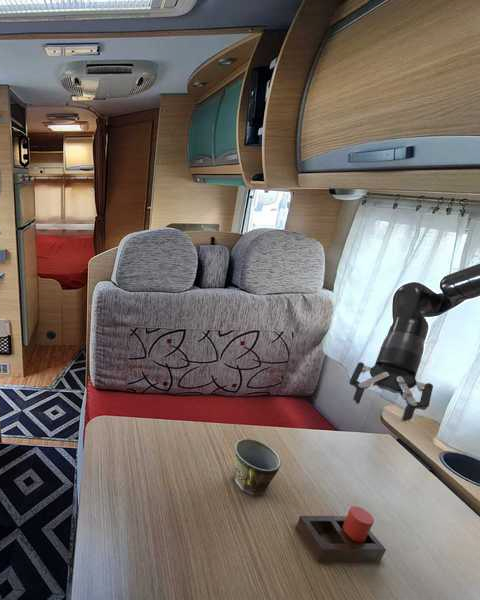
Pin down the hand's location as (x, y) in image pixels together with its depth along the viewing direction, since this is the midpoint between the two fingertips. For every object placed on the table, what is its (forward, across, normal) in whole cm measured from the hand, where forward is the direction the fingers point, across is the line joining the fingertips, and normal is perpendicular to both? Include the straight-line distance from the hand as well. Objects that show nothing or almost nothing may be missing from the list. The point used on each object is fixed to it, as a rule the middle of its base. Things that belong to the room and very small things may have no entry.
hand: (379, 411), depth 78 cm
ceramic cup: (+32, -18, -2) cm, 36 cm away
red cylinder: (+31, +2, -1) cm, 31 cm away
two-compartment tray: (+32, 0, -3) cm, 32 cm away
